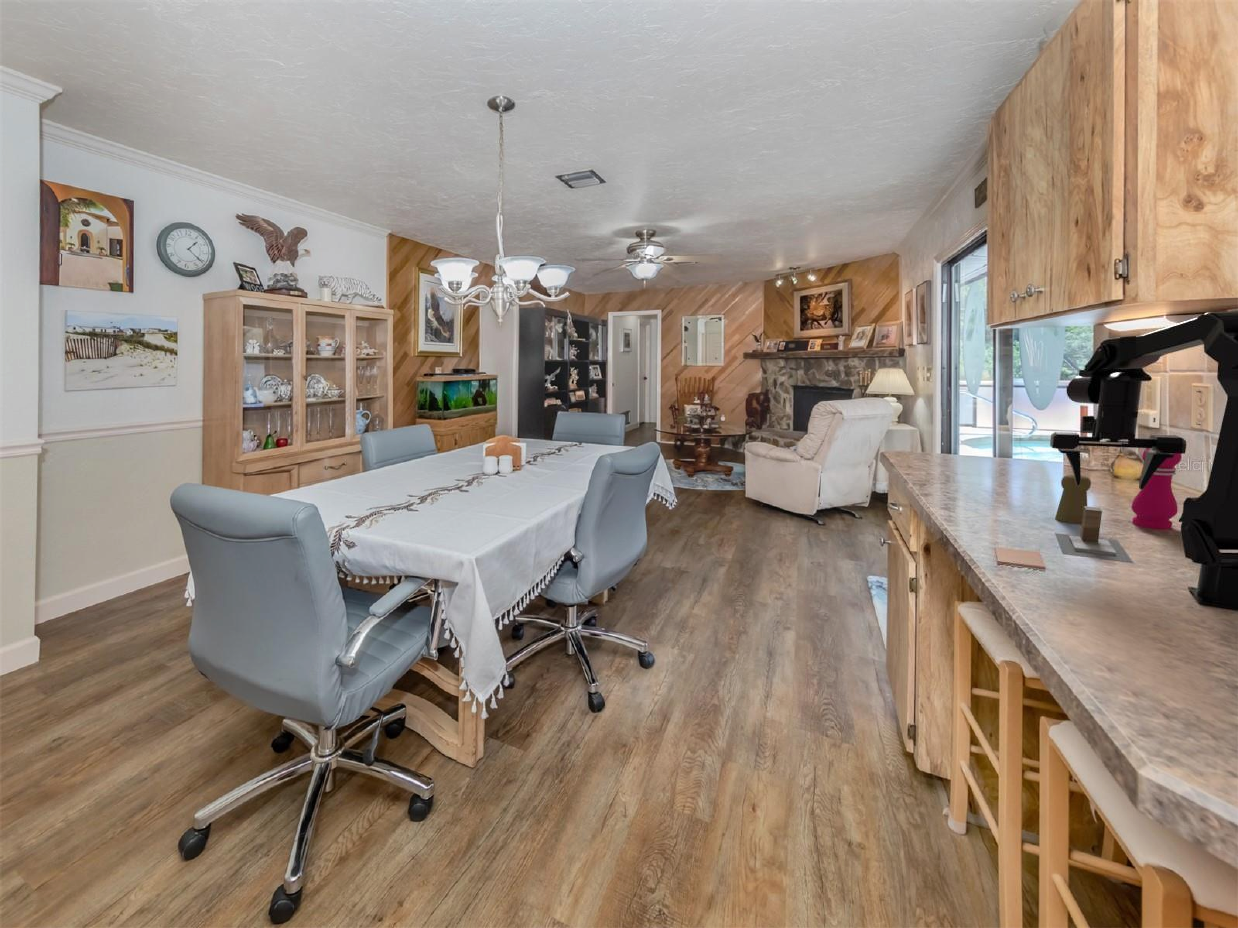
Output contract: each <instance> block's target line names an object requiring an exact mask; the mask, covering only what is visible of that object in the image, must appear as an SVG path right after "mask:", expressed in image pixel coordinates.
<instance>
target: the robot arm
mask: <svg viewBox="0 0 1238 928" xmlns="http://www.w3.org/2000/svg"><path fill="white" fill-rule="evenodd" d="M1202 345H1203V351H1204V354H1206V355H1207V356H1208V357H1209V358H1211V359H1212V360H1214V361H1215V362H1216V363H1217V376H1216V377H1217V380H1218V382H1219V384H1220V386H1221V388H1222V389H1223V391H1224V392H1225V394H1226V396H1227V397H1226V398H1227V401H1226V403H1225V408H1224V412H1223V417H1222V421H1221V425H1220V430H1219V435H1218V439H1217V443H1216V444H1217V445H1216V448H1215V453H1214V455H1213V460H1212V461H1213V462H1212V465H1211V468H1210V469H1211V470H1210V474H1209V479H1208V483H1207V487H1206V489H1205V491H1204V492H1203V493H1202V494H1200V496H1199V495H1198V497H1186V498H1185V500H1184V501H1183V503H1182V504H1183V507H1182V513H1181V516H1180V518H1179V519H1178V522H1179V523H1181V525H1180V534H1181V539H1182V544H1183V551H1184V556H1185V558H1186V559H1189V560H1190V561H1191V562H1192V563H1195V564H1199V565H1200V569H1199V574H1198V580H1197V581H1198V582H1197V587H1193V586H1192V587H1191V586H1188V587H1187V590H1189V591H1188V592H1189V593H1190V594H1191V596H1192V597H1193V598H1194V600H1196V601H1197V603H1198V604H1201V605H1205V606H1206V605H1207V606H1213V607H1219V608H1225V609H1230V610H1231V609H1233V610H1238V552H1221V551H1238V311H1237V310H1235V311H1234V310H1233V311H1210V312H1206V313H1204V314H1201V315H1198V316H1197V317H1195V318H1192V319H1189V320H1185V321H1183V322H1182V321H1181V322H1180V323H1176V324H1173V325H1169V326H1166V327H1164V328H1160V329H1157V330H1155V331H1151V332H1147V333H1145V334H1142V335H1131V336H1129V335H1128V336H1127V335H1126V336H1118V337H1108V338H1106V339H1104V340H1102V341H1101V342H1100V344H1099V346H1098V347H1097V348H1096V350H1095V352H1094V353H1093V354H1092V356H1091V357H1090V358H1089V361H1088V362H1087V363H1086V364H1085V365H1084V368H1083V369H1080V370H1079V371H1078V375H1077V376H1075V377H1073V378H1072V379H1071V380H1070V382H1069V383H1068V385H1067V386H1066V395H1067V397H1068V399H1069V400H1071V401H1073V402H1074V403H1077V404H1089V405H1090V404H1091V405H1097V412H1096V418H1095V416H1093V415H1088V416H1087V415H1083V416H1082V417H1081V419H1080V420H1081V422H1080V433H1081V434H1091V436H1080V434H1079V433H1077V432H1063V431H1054V432H1053V433H1052V434H1050V441H1049V446H1050V448H1052V449H1055V450H1058V453H1060V454H1065V456H1066V457H1067V459H1068V462H1069V464H1070V467H1071V470H1072V475H1074V478H1075V481H1076V484H1077V485H1080V479H1081V476H1082V475H1081V472H1082V471H1081V469H1082V467H1081V451H1080V450H1079V449H1078V448H1079V446H1081V447H1103V448H1104V447H1105V448H1107V447H1108V448H1109V447H1110V448H1129V449H1130V448H1131V449H1132V448H1135V449H1146V448H1149V449H1150V451H1145V462H1144V461H1143V465H1142V469H1141V472H1140V477H1139V482H1138V483H1139V484H1138V489H1139V490H1141V489H1143V488H1144V487H1145V485H1146V484H1147V482H1148V481H1149V480H1150V478H1151V477H1152V475H1153V474H1154V472H1155V471H1156V470H1157V469H1158V468H1159V466H1160V465H1161V464H1162V463H1163V462H1164V461H1165V460H1166V459H1167V458H1174V456H1175V455H1173V454H1172V453H1178V454H1181V455H1183V454H1186V451H1187V450H1186V449H1187V441H1186V439H1184V438H1183V437H1181V436H1178V435H1175V434H1174V435H1173V434H1172V435H1171V434H1150V436H1149V438H1147V437H1146V438H1141V437H1140V438H1139V437H1136V432H1137V431H1136V430H1137V426H1138V425H1137V423H1138V416H1139V409H1140V408H1139V407H1140V401H1141V399H1140V398H1141V390H1142V383H1143V382H1151V381H1152V380H1153V377H1152V376H1151V375H1150V374H1149V373H1147V372H1146V371H1144V368H1147V367H1149V366H1150V365H1152V364H1155V363H1157V362H1158V361H1159V360H1160V358H1161V357H1162V356H1166V355H1168V354H1173V353H1177V352H1179V351H1184V350H1188V349H1192V348H1194V347H1195V348H1196V347H1199V346H1202ZM1102 440H1104V441H1102Z"/></svg>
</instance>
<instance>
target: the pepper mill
mask: <svg viewBox="0 0 1238 928" xmlns="http://www.w3.org/2000/svg"><path fill="white" fill-rule="evenodd" d="M1145 451H1150V449H1149V448H1144V451H1142V455H1141V458H1142V460H1143V463H1144V462H1145ZM1172 454H1173V455H1175V456H1174V458H1167V459H1166V460H1165V461H1164V462H1163V463H1162V464H1161V465H1160V466H1159V468H1158V469H1157V470H1156V471H1155V472H1154V474H1153V475H1152V477H1151V478H1150V480H1149V481H1148V482H1147V484H1146V485H1145V487H1144V488H1143V489H1140V490H1139V492H1138V493H1137V494H1136V496H1135V497H1134V499H1133V500H1132V503H1131V510H1132V511H1133V514H1135V515H1136V516H1133V517H1132V520H1131V521H1132V522H1131V524H1132V525H1134V526H1137V527H1140V528H1144V529H1151V530H1163V531H1164V530H1172V529H1173V522H1172V520H1170V519H1172V518H1174V517H1176V516H1177V514H1178V508H1179V507H1178V503H1177V499H1176V498H1175V495H1174V493H1173V489H1172V480H1173V477H1174V476H1175V475H1176V474H1177V473H1176V471H1177V468H1176V466H1177V465H1178V464H1179V463H1180V462H1181V461H1182V454H1178V453H1172Z"/></svg>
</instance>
